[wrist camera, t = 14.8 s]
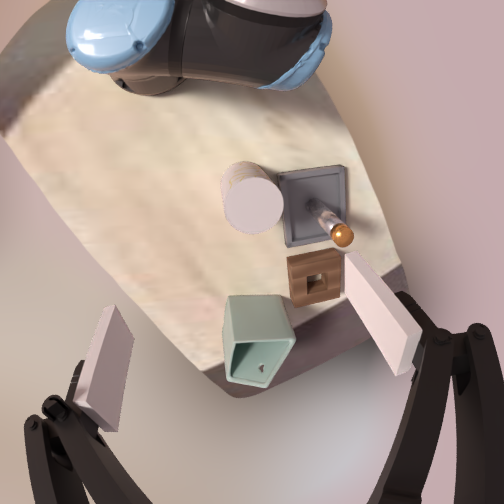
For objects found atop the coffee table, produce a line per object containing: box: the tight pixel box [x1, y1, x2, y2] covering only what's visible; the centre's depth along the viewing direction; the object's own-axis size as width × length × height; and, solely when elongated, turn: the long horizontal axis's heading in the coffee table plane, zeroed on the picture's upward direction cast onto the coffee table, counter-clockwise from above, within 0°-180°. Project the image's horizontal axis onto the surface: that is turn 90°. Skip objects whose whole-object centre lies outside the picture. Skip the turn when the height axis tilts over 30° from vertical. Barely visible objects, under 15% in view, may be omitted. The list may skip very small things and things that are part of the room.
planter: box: [222, 295, 296, 388], centre depth 53 cm, size 16×8×20 cm, turn 128°
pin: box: [306, 198, 354, 247], centre depth 47 cm, size 3×3×14 cm
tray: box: [277, 165, 346, 248], centre depth 52 cm, size 14×12×2 cm
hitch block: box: [287, 248, 341, 308], centre depth 59 cm, size 10×10×4 cm
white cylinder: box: [221, 161, 284, 234], centre depth 44 cm, size 8×8×12 cm
